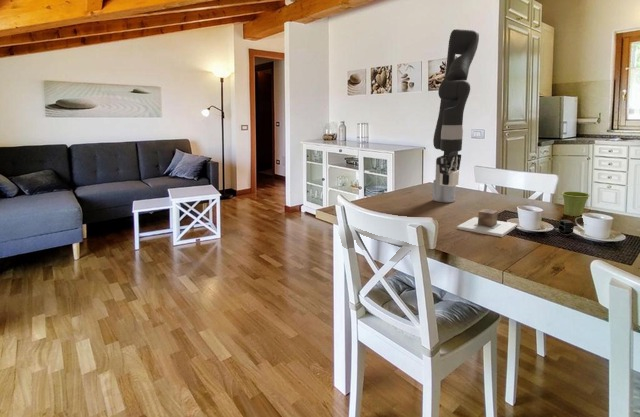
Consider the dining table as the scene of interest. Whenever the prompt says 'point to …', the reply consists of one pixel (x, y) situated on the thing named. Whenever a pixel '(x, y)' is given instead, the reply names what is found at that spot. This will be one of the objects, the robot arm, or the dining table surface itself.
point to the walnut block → (487, 217)
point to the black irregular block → (565, 227)
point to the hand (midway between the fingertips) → (448, 183)
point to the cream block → (451, 178)
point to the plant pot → (574, 203)
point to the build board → (496, 230)
